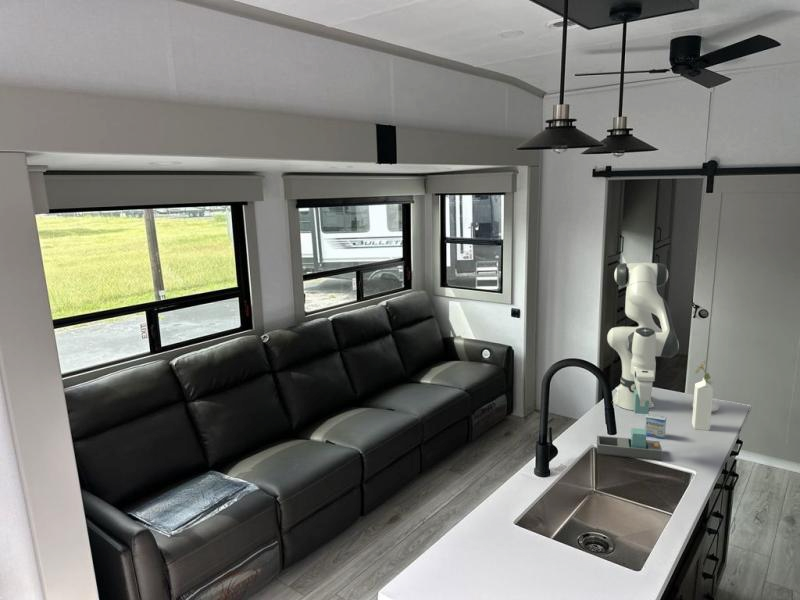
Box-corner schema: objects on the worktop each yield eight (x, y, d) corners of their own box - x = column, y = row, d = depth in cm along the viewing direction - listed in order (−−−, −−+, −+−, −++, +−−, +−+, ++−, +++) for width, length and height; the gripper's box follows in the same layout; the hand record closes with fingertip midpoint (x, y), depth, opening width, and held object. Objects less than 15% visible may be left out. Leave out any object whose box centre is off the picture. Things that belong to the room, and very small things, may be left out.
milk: (694, 429, 243) (697, 381, 239) (691, 423, 249) (695, 376, 244) (710, 430, 242) (713, 382, 237) (707, 424, 247) (710, 377, 242)
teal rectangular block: (633, 408, 225) (634, 389, 223) (646, 409, 224) (647, 390, 222) (634, 413, 220) (635, 394, 219) (648, 414, 219) (649, 395, 217)
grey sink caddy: (596, 444, 233) (597, 423, 231) (658, 450, 226) (660, 428, 224) (597, 454, 225) (598, 432, 223) (661, 460, 218) (663, 438, 216)
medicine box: (644, 436, 239) (645, 417, 237) (645, 431, 243) (646, 413, 241) (664, 439, 235) (665, 420, 234) (665, 435, 239) (666, 416, 237)
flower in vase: (700, 402, 270) (704, 353, 265) (723, 410, 261) (728, 359, 256) (684, 409, 264) (687, 358, 258) (707, 417, 254) (712, 365, 249)
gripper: (631, 360, 229) (630, 392, 232) (637, 377, 210) (635, 412, 213) (648, 361, 227) (646, 393, 230) (655, 378, 208) (653, 413, 211)
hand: (641, 402), depth 221 cm, fingers closed on teal rectangular block, 5 cm apart
